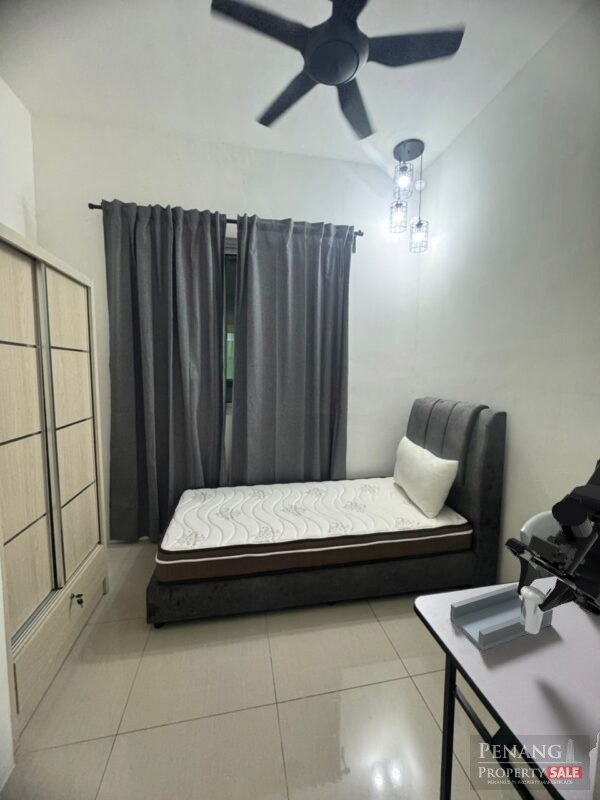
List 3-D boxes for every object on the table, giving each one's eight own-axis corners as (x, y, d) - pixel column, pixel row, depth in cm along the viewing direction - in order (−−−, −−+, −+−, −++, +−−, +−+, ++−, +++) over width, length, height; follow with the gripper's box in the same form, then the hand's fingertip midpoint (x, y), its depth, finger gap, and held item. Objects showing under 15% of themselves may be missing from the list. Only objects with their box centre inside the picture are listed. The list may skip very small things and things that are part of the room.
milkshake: (551, 639, 67) (557, 596, 65) (522, 635, 68) (528, 592, 66) (539, 621, 71) (545, 581, 69) (513, 617, 72) (517, 577, 70)
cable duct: (514, 597, 87) (515, 584, 86) (551, 624, 78) (552, 609, 77) (450, 618, 80) (451, 603, 79) (482, 650, 71) (483, 634, 70)
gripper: (513, 505, 76) (474, 557, 74) (609, 549, 59) (561, 618, 57) (533, 529, 80) (497, 580, 78) (630, 578, 62) (586, 645, 60)
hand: (529, 602), depth 68 cm, fingers closed on milkshake, 4 cm apart
